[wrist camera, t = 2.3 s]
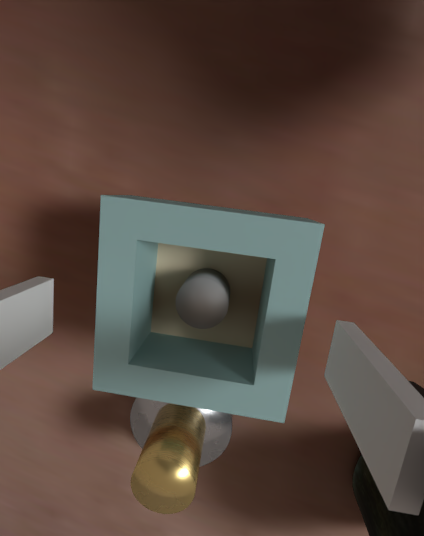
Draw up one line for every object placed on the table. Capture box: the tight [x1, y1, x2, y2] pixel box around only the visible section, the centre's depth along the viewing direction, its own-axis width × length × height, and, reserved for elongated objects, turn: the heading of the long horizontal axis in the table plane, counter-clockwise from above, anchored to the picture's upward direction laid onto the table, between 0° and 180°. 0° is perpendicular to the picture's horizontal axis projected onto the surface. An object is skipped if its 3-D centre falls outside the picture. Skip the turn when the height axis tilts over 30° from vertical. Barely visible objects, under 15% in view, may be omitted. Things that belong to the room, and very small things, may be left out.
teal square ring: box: [93, 195, 325, 423], centre depth 17 cm, size 10×10×4 cm
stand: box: [151, 243, 267, 348], centre depth 20 cm, size 8×8×7 cm
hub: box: [130, 397, 233, 514], centre depth 23 cm, size 8×8×8 cm
